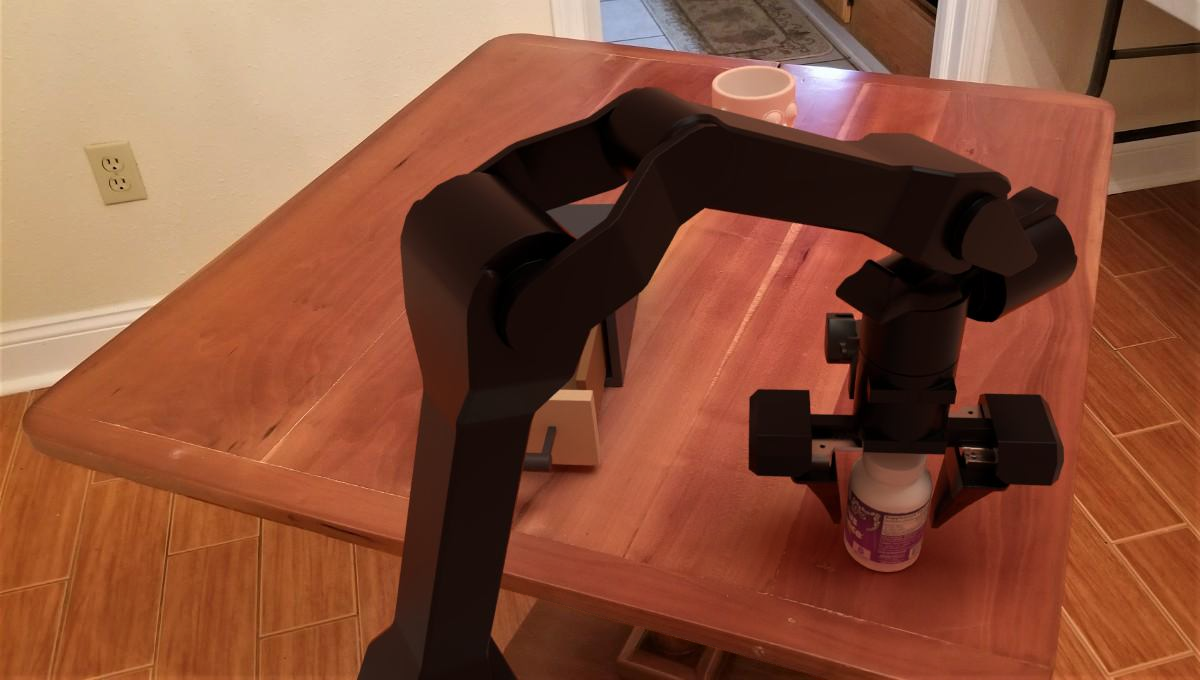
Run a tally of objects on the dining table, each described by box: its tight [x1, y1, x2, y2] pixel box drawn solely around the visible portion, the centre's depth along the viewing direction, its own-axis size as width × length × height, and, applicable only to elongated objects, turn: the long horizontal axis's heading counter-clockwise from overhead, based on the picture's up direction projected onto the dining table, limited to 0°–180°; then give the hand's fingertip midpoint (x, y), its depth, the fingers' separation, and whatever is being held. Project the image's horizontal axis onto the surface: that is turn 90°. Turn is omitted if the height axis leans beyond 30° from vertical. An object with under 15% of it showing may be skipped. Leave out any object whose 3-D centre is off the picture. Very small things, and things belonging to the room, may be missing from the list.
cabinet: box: [546, 203, 640, 387], centre depth 88 cm, size 17×14×9 cm
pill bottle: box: [843, 451, 933, 573], centre depth 64 cm, size 5×5×10 cm
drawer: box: [522, 319, 610, 473], centre depth 77 cm, size 20×13×7 cm, turn 172°
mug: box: [711, 65, 799, 128], centre depth 111 cm, size 12×10×9 cm
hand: (884, 521), depth 65 cm, fingers open, 6 cm apart
